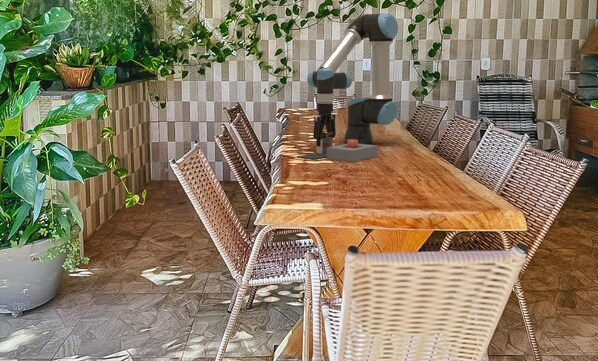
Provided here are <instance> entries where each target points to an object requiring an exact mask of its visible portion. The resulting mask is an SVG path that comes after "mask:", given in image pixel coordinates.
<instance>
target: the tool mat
mask: <svg viewBox="0 0 598 361" xmlns="http://www.w3.org/2000/svg"><path fill="white" fill-rule="evenodd" d="M296 158H298V159H302V160H303V159H304V160H310V161H311V160H313V161H317V160H323V159H327V154H316V152H314V153H308V154H302V155H298V156H296Z"/></svg>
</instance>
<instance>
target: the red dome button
mask: <svg viewBox="0 0 598 361" xmlns="http://www.w3.org/2000/svg"><path fill="white" fill-rule="evenodd" d="M346 144H347V147H348V148H358V140H356V139H348V140H347V143H346Z"/></svg>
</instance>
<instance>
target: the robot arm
mask: <svg viewBox="0 0 598 361" xmlns="http://www.w3.org/2000/svg"><path fill="white" fill-rule="evenodd" d="M398 31H399V24H398V20H397V18H396V17H395V16H394V15H393V14H391V13H385V12H383V13H366V14H362V15H360V16H358V17H357V18H355V19H354V20H353V21H352V22H351V23H350V24H349V25H347V27H346V29H345V30H344V32H343V36H342V37H341V38H340V40H339V41H338V42H337V44H336V45H335V46H334V48H333V49H332V50H331V51H330V53H329V54H328V55H327V57H326V58H325V59H324V61H323V62H322V63H321V64H320V66H319V68H317V70H316V71H311V72H309V73H308V75H307V76H306V77H307V78H306V81H307V84H308V85H309V87H310V88H311V87H312V88H316V102H317V104H316V112H318V114H317V116H314V117H313V122H314V124H313V132H312V133H313V134H312V135H313V136H312V138H313V139H314V140H316V142H315V143H316V146H317V153H320V154H322V139H321V137H322V133H323V132H324V127H325V129H326V132H331V133H332V135H329V137H333V139H334V138H335V137H336V134H337V133H336V132H337V131H336V114H332V112H333V111H334V90H345V89H349V88H350V87H351V85H352V83H353V78H352V75H351V74H349V72H343V71H342V72H337V70H338V69H339V68H340V67H341V65H342V64H343V63H344V61H345V60H346V59H347V57H348V56H349V55H350V54H351V52H352V51H353V49H354V48H355V47H356V45H359V44H361V42H362V41H363V40H365V39H368V42H369V44H370V45H371V55H372V56H371V95H370V96H369V97H368V96H367V97H358V98H350V99H349V100H348V102H347V128H346V131H345V134H344V138H343V143H344V144H347V140H348V139H356V140H358V144H367V145H372V144H373V143H374V136H373V133H372V129H371V124H373V125H380V126H382V125H385V126H386V125H390V124H392V123H393V122H394V120H395V119H396V117H397V114H398V108H397V104H396V103H395V102H394V101H393V97H392V95H391V94H390V66H391V65H390V62H391V61H390V57H391V56H390V55H391V52H390V48H391V44H392V43H394V38H396V36H397V34H398Z"/></svg>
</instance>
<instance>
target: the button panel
mask: <svg viewBox="0 0 598 361" xmlns="http://www.w3.org/2000/svg"><path fill="white" fill-rule="evenodd" d="M378 148H379V146H378V145H374V144H358V148H348V147H347V143H344V144H339V145H333V147H327V154H326V155H327V158H326V160H333V161H339V162H340V161H341V162H348V163H355V162H359V161H364V160H368V159H374V158H377V157H379V153H378V152H379V149H378Z"/></svg>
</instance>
